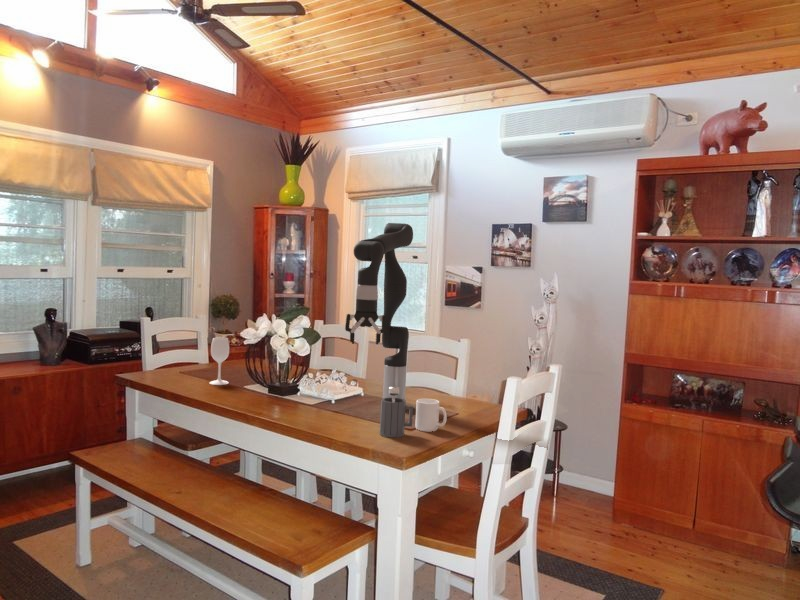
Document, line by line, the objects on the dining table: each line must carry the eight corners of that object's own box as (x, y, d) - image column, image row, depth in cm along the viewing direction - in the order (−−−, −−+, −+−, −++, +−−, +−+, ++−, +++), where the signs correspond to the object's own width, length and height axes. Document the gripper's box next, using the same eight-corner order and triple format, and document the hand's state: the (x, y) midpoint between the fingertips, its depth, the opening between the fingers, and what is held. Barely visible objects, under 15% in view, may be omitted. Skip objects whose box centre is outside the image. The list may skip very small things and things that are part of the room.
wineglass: (208, 385, 266) (209, 339, 265) (209, 381, 274) (211, 336, 273) (228, 385, 268) (229, 339, 267) (229, 381, 276) (230, 337, 275)
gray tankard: (378, 430, 206) (380, 397, 206) (409, 430, 208) (411, 397, 207) (381, 437, 198) (382, 402, 197) (413, 437, 200) (415, 403, 199)
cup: (422, 424, 218) (424, 397, 217) (451, 430, 211) (452, 402, 211) (410, 428, 211) (412, 401, 210) (440, 435, 204) (441, 406, 204)
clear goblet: (383, 419, 205) (385, 385, 204) (399, 419, 206) (400, 385, 205) (385, 423, 199) (387, 389, 199) (401, 423, 200) (403, 389, 200)
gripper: (385, 298, 211) (383, 342, 212) (346, 296, 209) (344, 341, 210) (388, 299, 204) (386, 345, 205) (347, 297, 202) (345, 344, 203)
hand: (364, 343), depth 207 cm, fingers open, 8 cm apart
